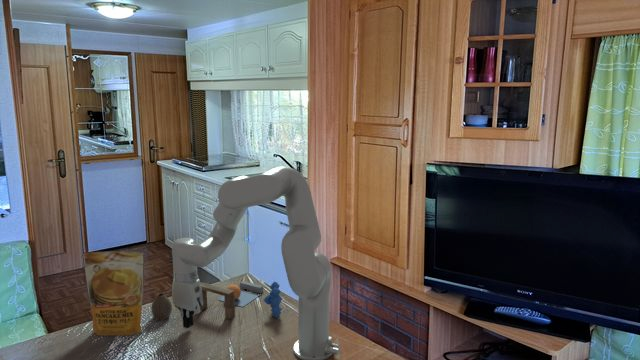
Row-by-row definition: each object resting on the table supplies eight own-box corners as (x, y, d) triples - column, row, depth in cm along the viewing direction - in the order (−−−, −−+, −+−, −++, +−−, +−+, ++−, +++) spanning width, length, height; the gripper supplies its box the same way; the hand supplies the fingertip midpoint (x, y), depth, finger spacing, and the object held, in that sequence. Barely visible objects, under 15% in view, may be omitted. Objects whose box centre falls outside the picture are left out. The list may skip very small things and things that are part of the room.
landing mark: (261, 294, 181) (261, 294, 181) (242, 307, 170) (242, 306, 170) (237, 288, 186) (237, 287, 186) (217, 300, 176) (217, 299, 176)
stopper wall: (262, 291, 183) (262, 286, 183) (260, 293, 182) (259, 287, 181) (243, 286, 188) (242, 280, 187) (240, 288, 186) (239, 282, 186)
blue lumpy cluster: (262, 307, 170) (262, 277, 168) (280, 306, 171) (280, 276, 169) (265, 323, 159) (264, 291, 157) (284, 321, 160) (284, 289, 158)
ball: (234, 294, 171) (237, 305, 174) (241, 282, 175) (244, 293, 179) (220, 291, 173) (224, 302, 176) (228, 280, 177) (231, 290, 181)
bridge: (203, 306, 171) (202, 282, 169) (234, 315, 164) (234, 290, 162) (197, 309, 168) (196, 285, 166) (229, 319, 161) (228, 294, 159)
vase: (175, 313, 165) (174, 290, 164) (167, 322, 159) (166, 299, 157) (157, 312, 166) (155, 289, 164) (148, 321, 159) (146, 298, 158)
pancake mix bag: (94, 326, 156) (86, 249, 150) (150, 325, 156) (144, 249, 151) (85, 337, 149) (76, 256, 144) (143, 336, 150) (137, 256, 144)
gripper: (210, 275, 150) (212, 326, 154) (177, 267, 157) (180, 316, 160) (194, 284, 143) (197, 337, 147) (160, 274, 150) (163, 325, 154)
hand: (188, 326), depth 154 cm, fingers closed
